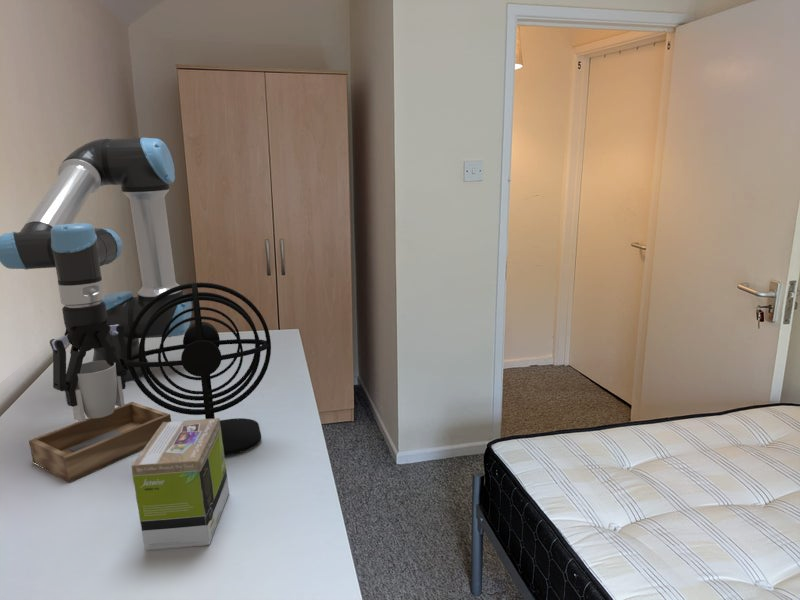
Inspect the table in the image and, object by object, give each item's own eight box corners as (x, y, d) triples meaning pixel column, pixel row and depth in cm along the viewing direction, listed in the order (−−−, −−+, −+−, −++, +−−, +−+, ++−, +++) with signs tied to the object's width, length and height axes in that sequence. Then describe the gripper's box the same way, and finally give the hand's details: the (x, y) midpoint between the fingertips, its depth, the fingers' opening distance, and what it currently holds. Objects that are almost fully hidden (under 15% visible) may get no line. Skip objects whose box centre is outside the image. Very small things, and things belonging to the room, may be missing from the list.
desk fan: (136, 478, 108) (110, 296, 100) (144, 438, 124) (123, 279, 116) (282, 452, 116) (268, 282, 108) (272, 418, 132) (259, 268, 124)
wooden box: (33, 463, 114) (28, 440, 113) (135, 422, 132) (132, 401, 131) (70, 482, 107) (66, 458, 106) (173, 435, 125) (170, 414, 123)
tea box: (172, 497, 101) (162, 419, 98) (230, 493, 102) (222, 415, 98) (142, 552, 86) (129, 463, 83) (210, 547, 87) (200, 458, 84)
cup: (130, 405, 121) (123, 360, 119) (107, 422, 113) (99, 374, 111) (93, 405, 122) (86, 360, 120) (68, 421, 114) (60, 373, 112)
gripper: (37, 317, 102) (58, 435, 107) (142, 295, 119) (156, 398, 124) (17, 312, 106) (38, 427, 111) (121, 292, 123) (135, 392, 128)
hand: (100, 412), depth 117 cm, fingers closed on cup, 8 cm apart
